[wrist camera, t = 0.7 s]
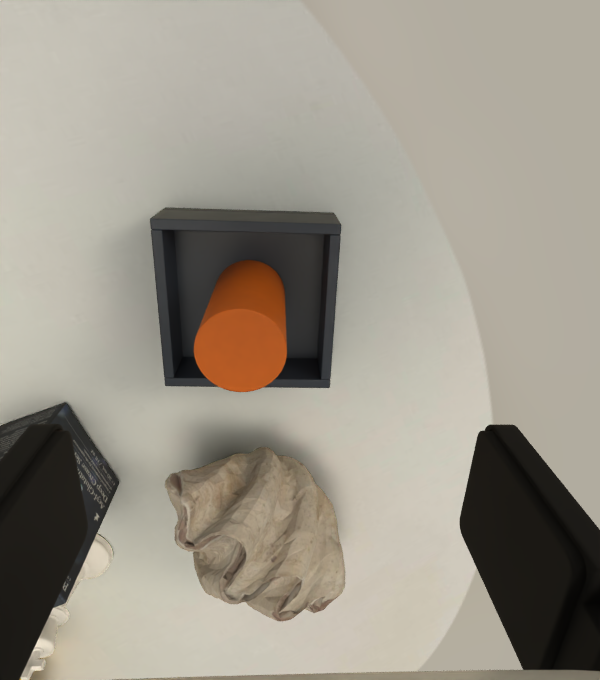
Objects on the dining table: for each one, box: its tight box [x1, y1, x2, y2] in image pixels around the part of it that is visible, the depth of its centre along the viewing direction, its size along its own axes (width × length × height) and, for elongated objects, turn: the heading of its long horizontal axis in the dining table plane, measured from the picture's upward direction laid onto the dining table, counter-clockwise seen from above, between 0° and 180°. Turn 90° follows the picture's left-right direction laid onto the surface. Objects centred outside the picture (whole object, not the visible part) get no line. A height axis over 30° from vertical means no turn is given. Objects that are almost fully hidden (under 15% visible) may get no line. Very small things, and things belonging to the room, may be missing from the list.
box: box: [0, 403, 119, 608], centre depth 31 cm, size 8×6×11 cm
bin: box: [150, 208, 341, 388], centre depth 29 cm, size 10×10×4 cm
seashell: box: [165, 447, 345, 621], centre depth 33 cm, size 10×15×10 cm
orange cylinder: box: [194, 260, 287, 392], centre depth 27 cm, size 4×4×8 cm
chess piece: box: [20, 534, 113, 680], centre depth 35 cm, size 5×5×10 cm
